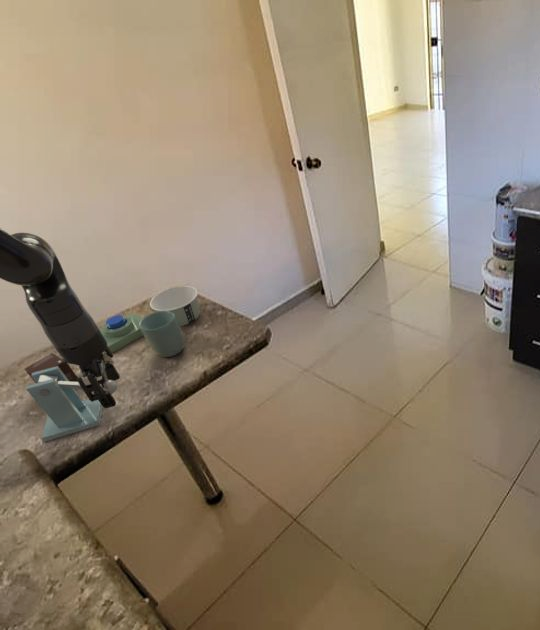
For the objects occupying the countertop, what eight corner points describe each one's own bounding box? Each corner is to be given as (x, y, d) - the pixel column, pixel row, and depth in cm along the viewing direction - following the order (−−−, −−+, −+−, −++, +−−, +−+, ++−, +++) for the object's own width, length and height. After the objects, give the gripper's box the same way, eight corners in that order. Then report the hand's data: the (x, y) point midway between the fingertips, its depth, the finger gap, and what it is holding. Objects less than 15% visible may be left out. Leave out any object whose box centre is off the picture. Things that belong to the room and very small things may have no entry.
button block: (109, 354, 110) (102, 342, 107) (92, 342, 114) (84, 330, 111) (154, 328, 118) (148, 317, 115) (136, 318, 122) (130, 307, 119)
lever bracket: (104, 399, 97) (75, 357, 90) (99, 424, 92) (68, 382, 84) (52, 414, 94) (17, 372, 87) (44, 442, 88) (5, 399, 81)
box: (69, 374, 104) (52, 352, 100) (82, 383, 102) (66, 360, 97) (41, 391, 100) (23, 368, 96) (55, 400, 97) (36, 377, 93)
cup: (195, 345, 111) (181, 314, 105) (170, 365, 106) (154, 333, 100) (174, 338, 114) (159, 307, 108) (148, 356, 108) (131, 325, 102)
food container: (214, 308, 124) (207, 289, 120) (182, 333, 115) (173, 314, 111) (182, 301, 128) (174, 282, 124) (149, 324, 119) (139, 305, 115)
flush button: (114, 331, 111) (110, 326, 110) (106, 326, 113) (102, 321, 112) (129, 323, 114) (126, 318, 113) (121, 318, 116) (118, 313, 115)
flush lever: (116, 388, 95) (119, 377, 94) (115, 398, 92) (118, 387, 91) (39, 384, 87) (41, 371, 86) (35, 394, 85) (37, 382, 84)
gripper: (59, 319, 87) (97, 376, 97) (43, 362, 77) (87, 422, 87) (101, 309, 90) (134, 366, 100) (92, 350, 79) (129, 409, 89)
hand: (112, 392), depth 93 cm, fingers open, 8 cm apart
